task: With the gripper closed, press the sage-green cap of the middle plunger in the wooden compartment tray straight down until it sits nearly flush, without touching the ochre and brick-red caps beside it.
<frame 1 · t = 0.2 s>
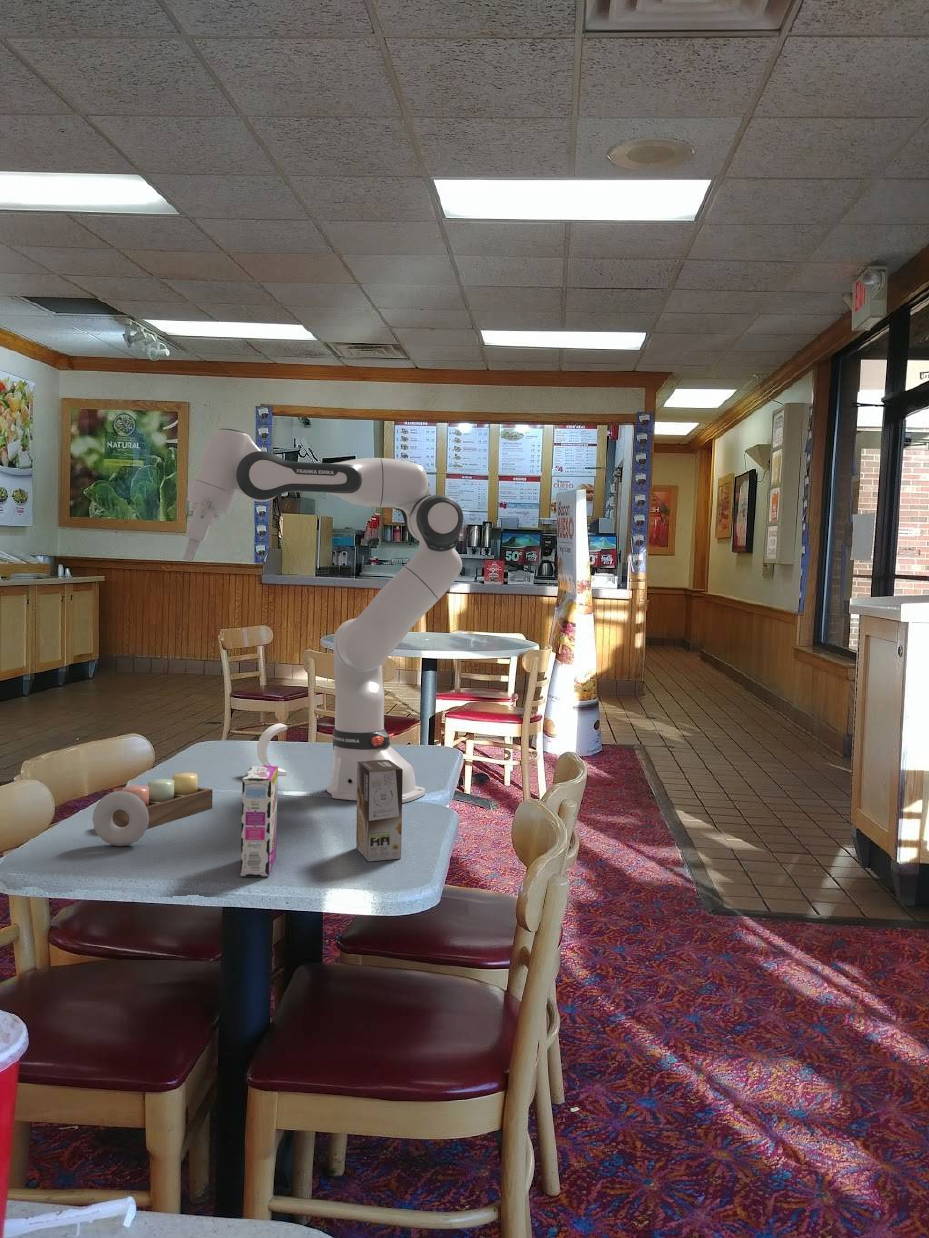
hand: (187, 560, 208), 52 cm above the table, tool tilted 20°, fingers open, 8 cm apart
headphone stand: (271, 775, 234), on the table
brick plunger: (135, 798, 187), point 5 cm above the table, slide at 0.0 cm
ochre plunger: (185, 785, 199), point 5 cm above the table, slide at 0.0 cm
candy bar box: (259, 868, 163), on the table
coffee box: (378, 854, 172), on the table
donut: (120, 846, 173), on the table
wooden compartment tray: (160, 817, 193), on the table
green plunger: (160, 791, 193), point 5 cm above the table, slide at 0.0 cm
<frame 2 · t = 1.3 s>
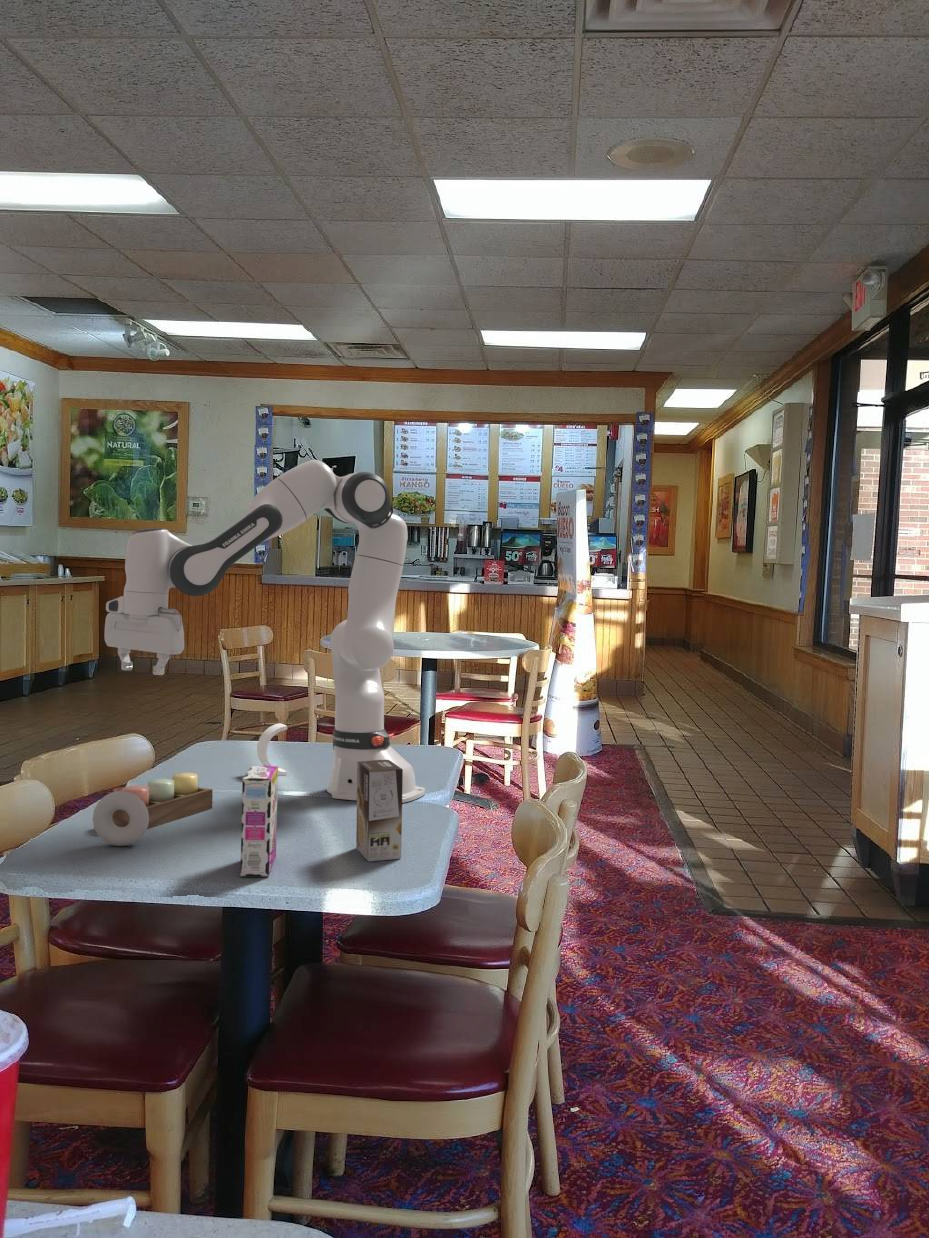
hand: (142, 672, 200), 28 cm above the table, tool pointing down, fingers open, 8 cm apart
nothing on the table moved.
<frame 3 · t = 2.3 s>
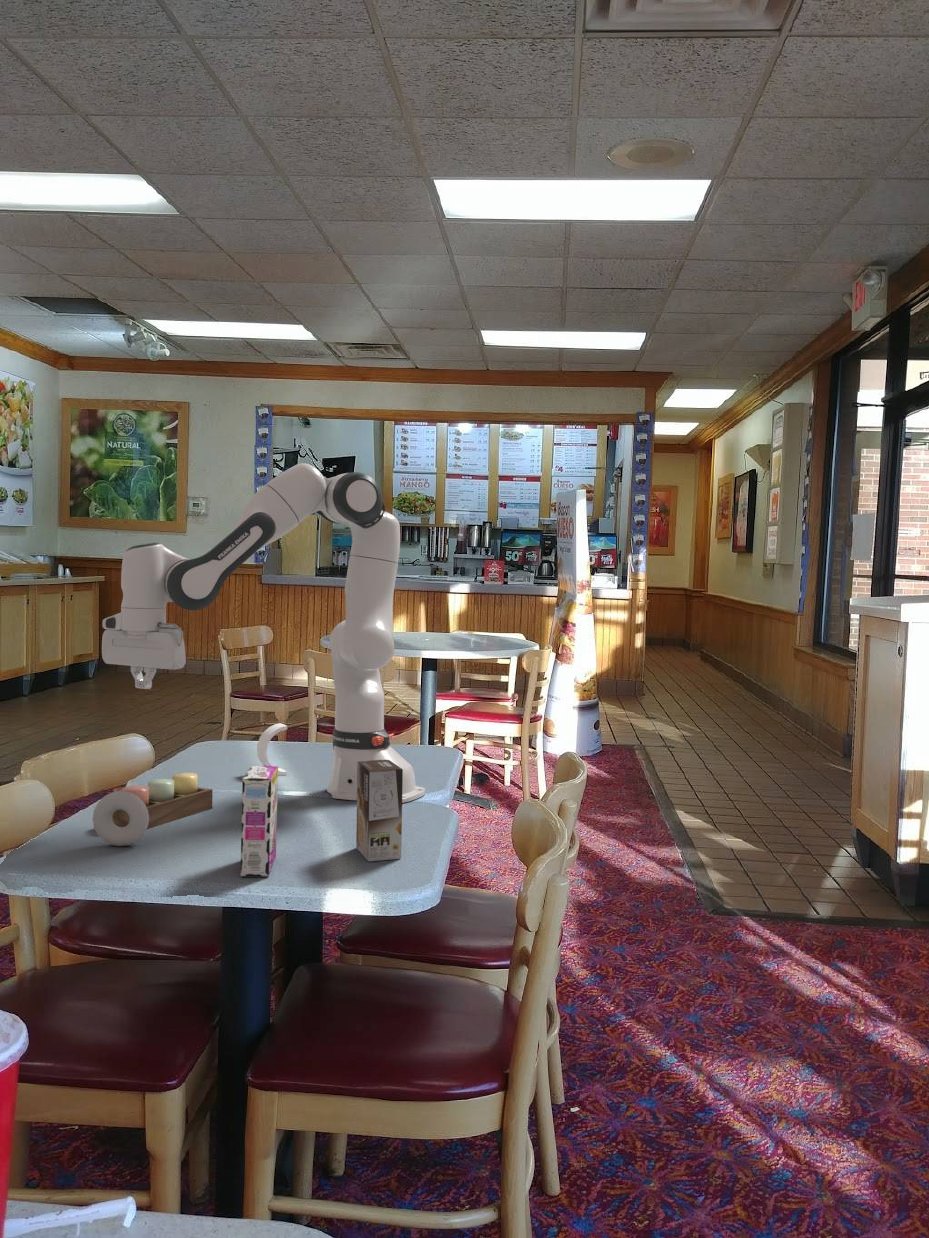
hand: (143, 688, 199), 25 cm above the table, tool pointing down, fingers closed
nothing on the table moved.
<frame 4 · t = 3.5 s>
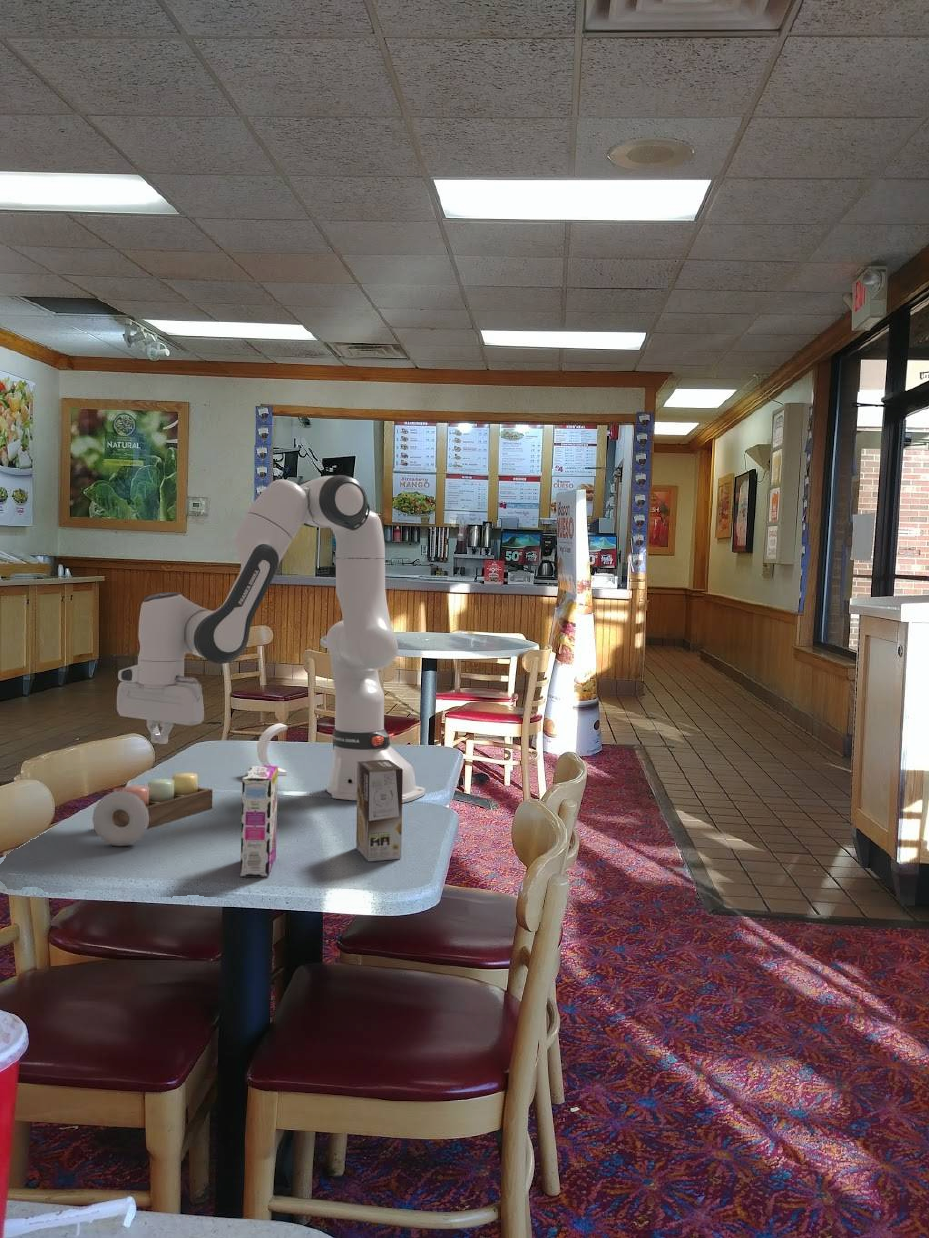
hand: (159, 742, 192), 15 cm above the table, tool pointing down, fingers closed
nothing on the table moved.
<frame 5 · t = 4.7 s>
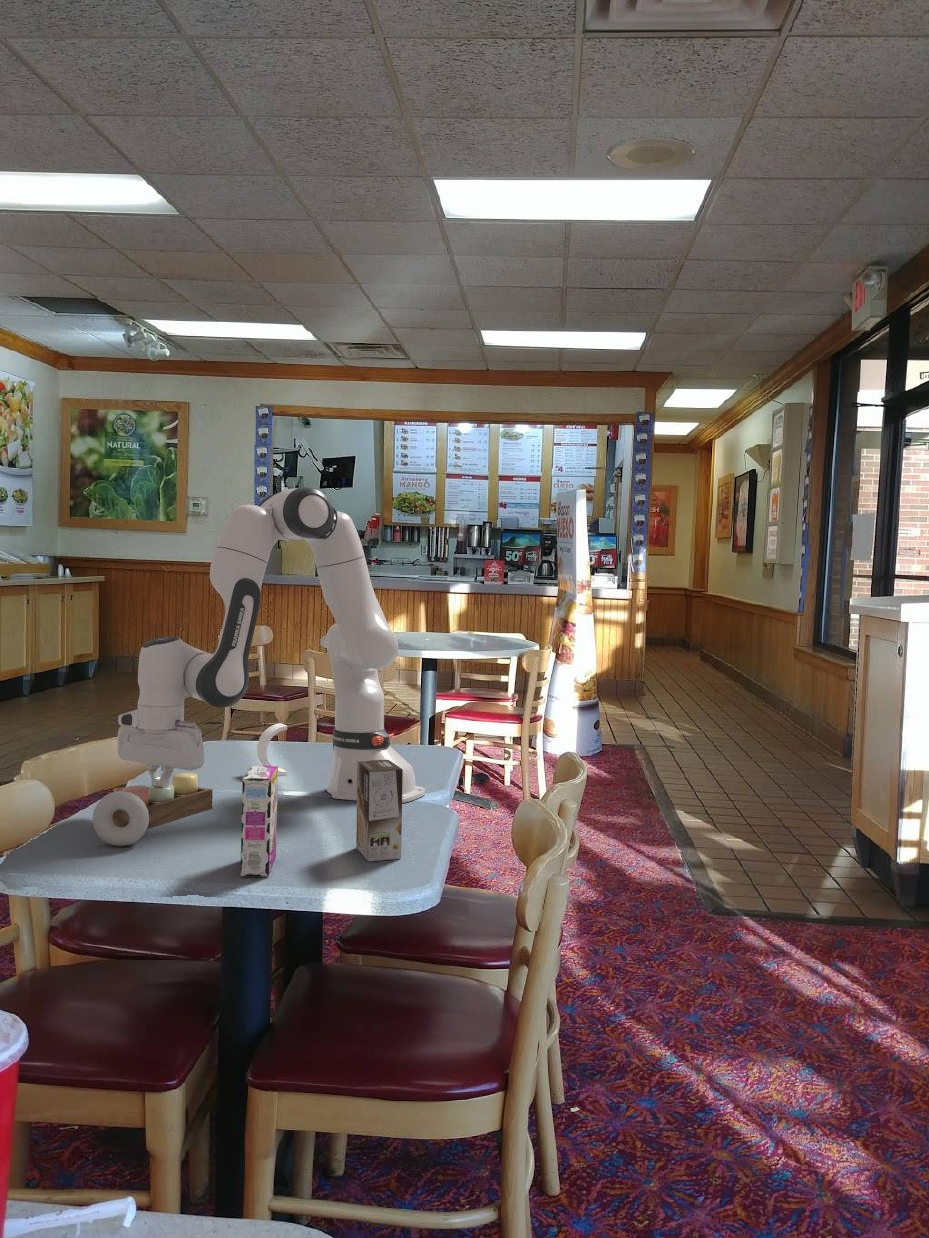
hand: (160, 786, 193), 6 cm above the table, tool pointing down, fingers closed, pressing on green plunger
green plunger: (160, 796, 193), point 4 cm above the table, slide at 1.1 cm, touching gripper
everything else where it was.
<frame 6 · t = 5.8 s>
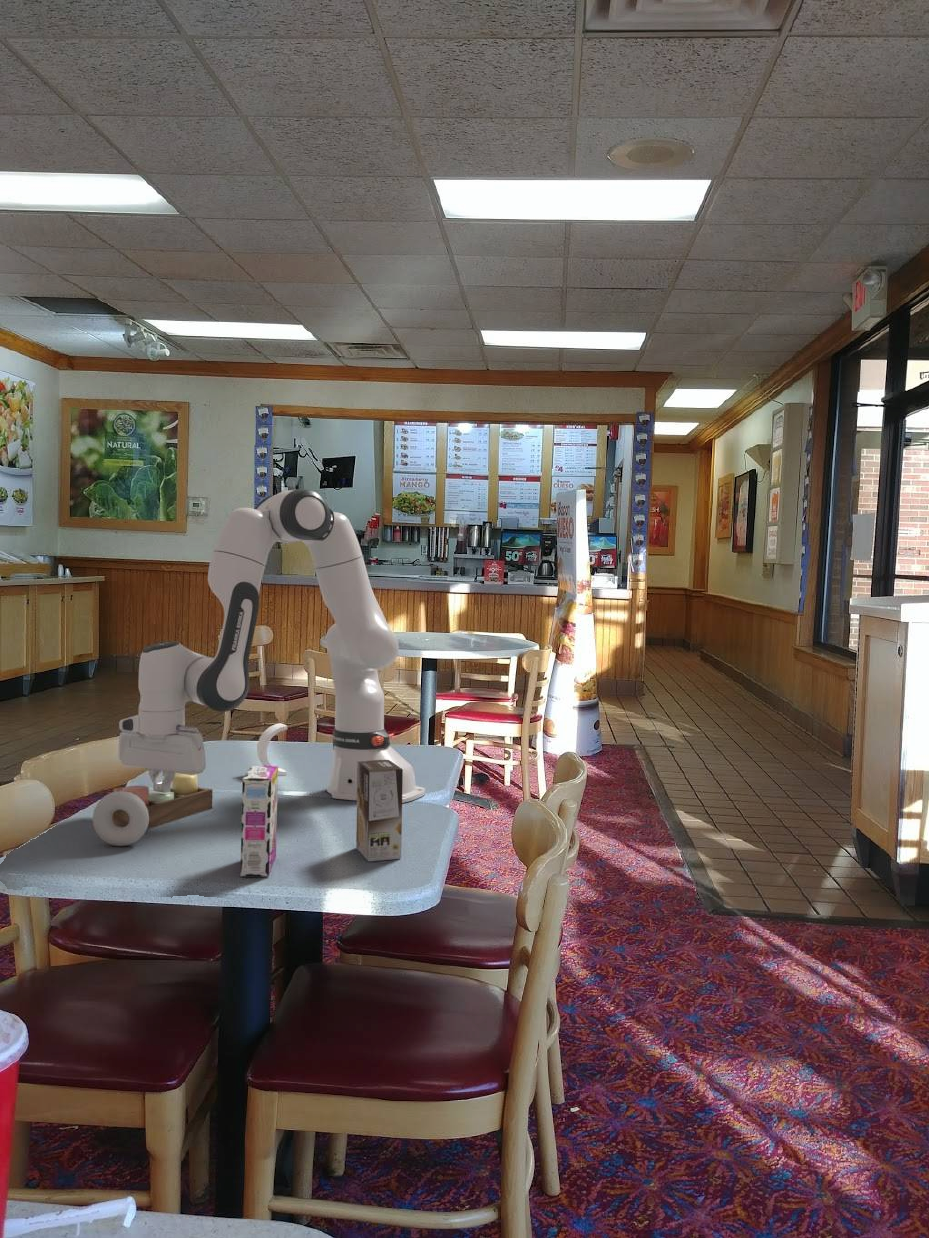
hand: (162, 791, 193), 5 cm above the table, tool pointing down, fingers closed
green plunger: (160, 803, 193), point 3 cm above the table, slide at 2.4 cm
everything else where it was.
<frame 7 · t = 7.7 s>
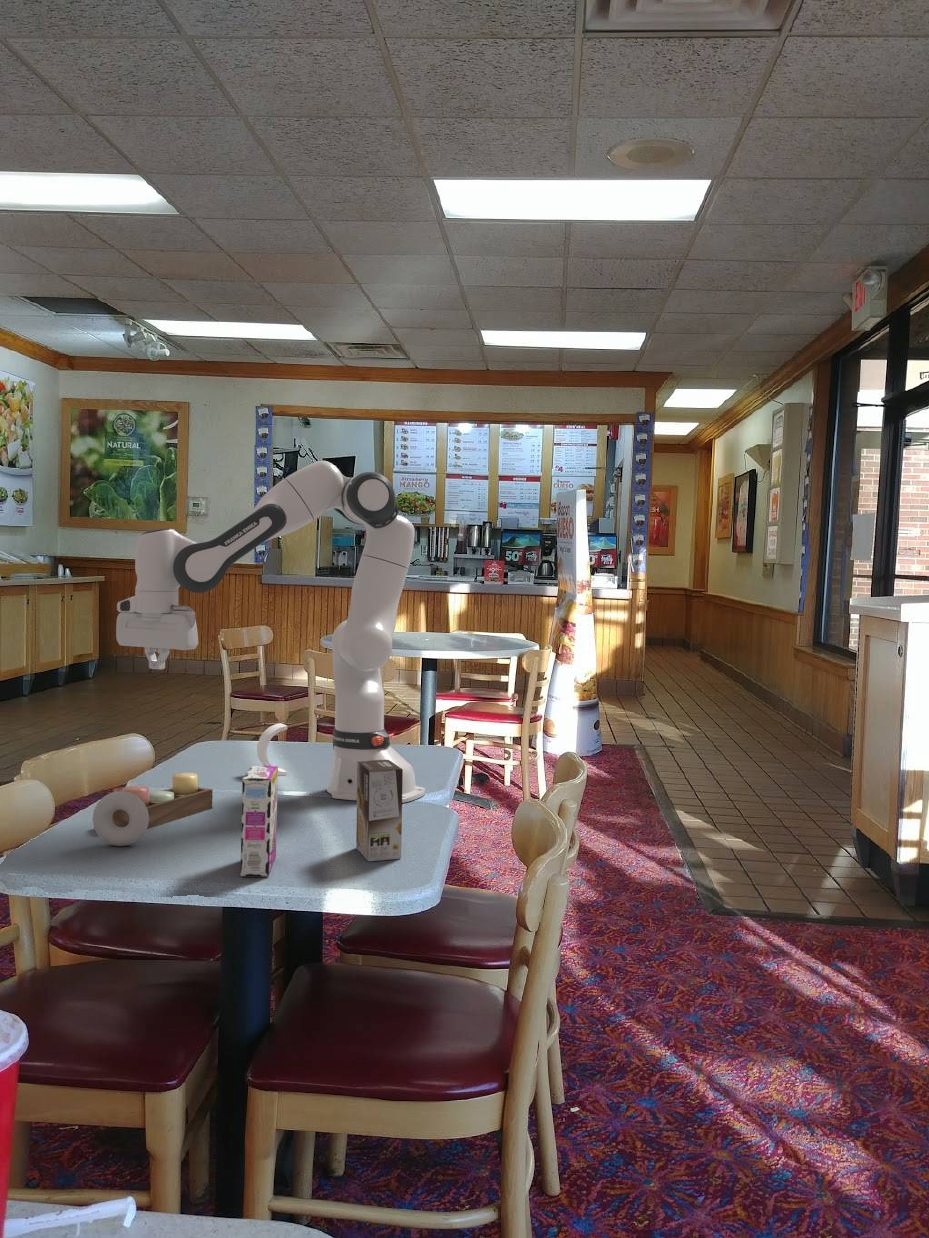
hand: (157, 668, 207), 28 cm above the table, tool pointing down, fingers closed
nothing on the table moved.
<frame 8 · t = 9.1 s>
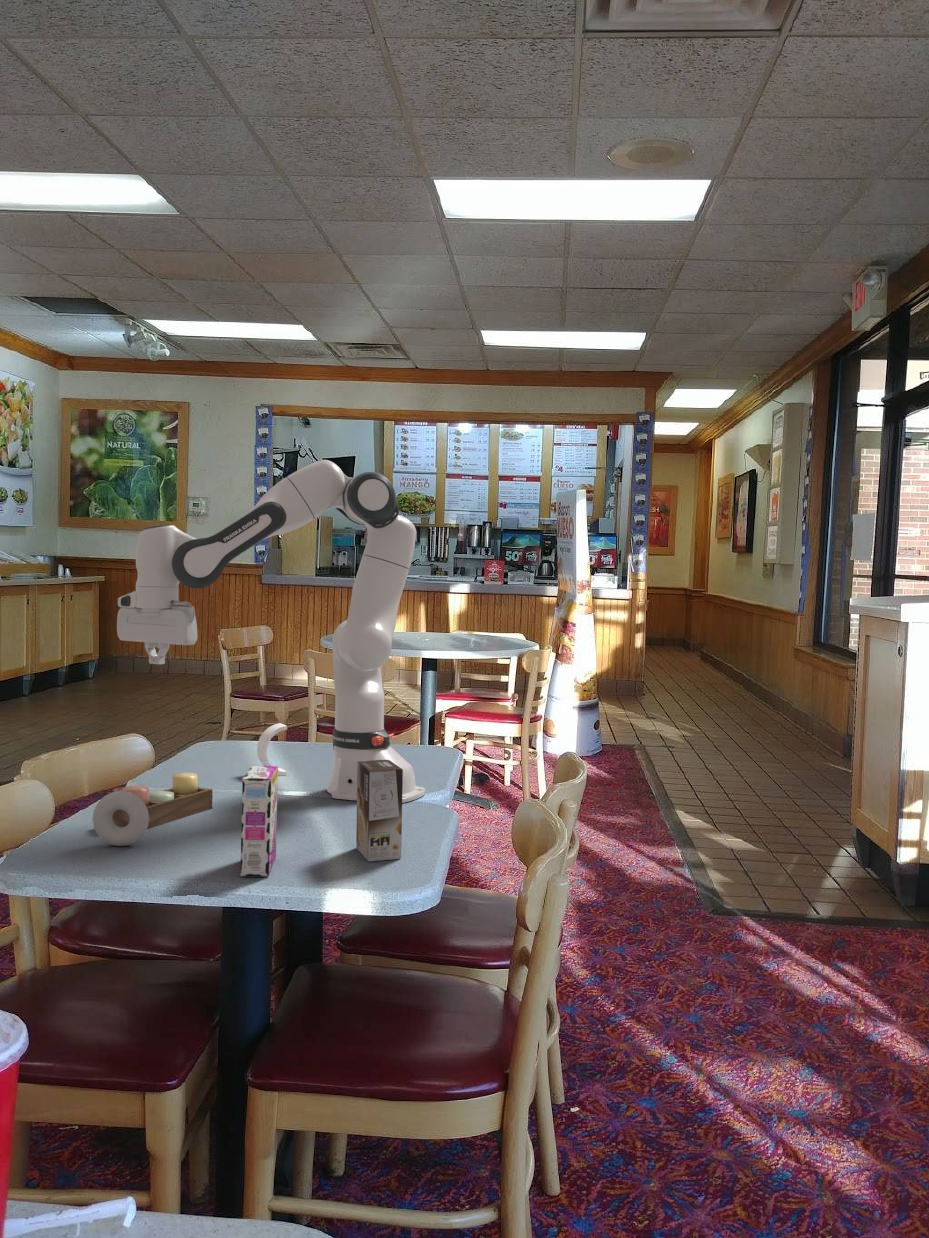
hand: (156, 663, 208), 29 cm above the table, tool pointing down, fingers closed
nothing on the table moved.
at the end: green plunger slide at 2.4 cm; ochre plunger slide at 0.0 cm; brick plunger slide at 0.0 cm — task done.
